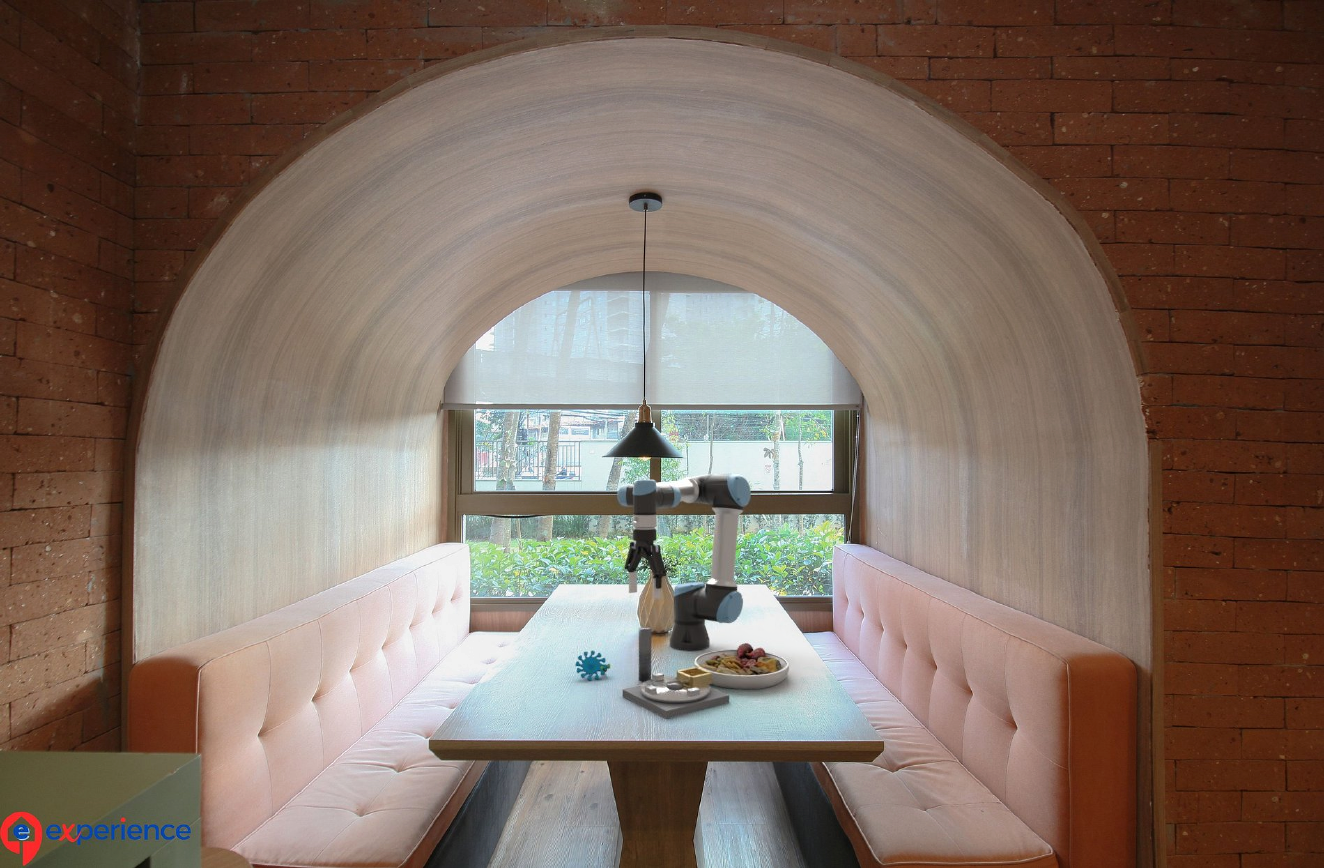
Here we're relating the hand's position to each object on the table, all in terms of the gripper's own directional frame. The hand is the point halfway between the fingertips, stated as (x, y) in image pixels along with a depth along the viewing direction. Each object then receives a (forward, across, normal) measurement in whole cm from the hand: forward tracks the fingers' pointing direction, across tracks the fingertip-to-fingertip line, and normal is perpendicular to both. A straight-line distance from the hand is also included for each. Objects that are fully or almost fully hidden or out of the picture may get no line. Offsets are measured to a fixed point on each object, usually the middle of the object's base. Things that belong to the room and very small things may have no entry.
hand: (644, 595), depth 215 cm
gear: (+26, -12, -12) cm, 31 cm away
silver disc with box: (+24, +20, -2) cm, 31 cm away
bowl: (+27, +15, +27) cm, 41 cm away
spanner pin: (+26, 0, 0) cm, 26 cm away
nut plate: (+26, +20, -3) cm, 33 cm away
